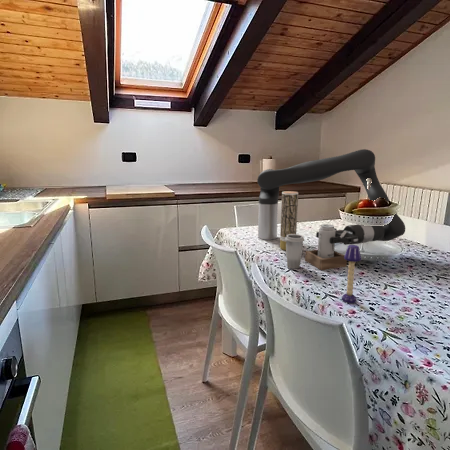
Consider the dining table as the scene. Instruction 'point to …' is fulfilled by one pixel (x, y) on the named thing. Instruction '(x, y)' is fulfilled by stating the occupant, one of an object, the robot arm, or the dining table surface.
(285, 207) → the bark patterned cylinder
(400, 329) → the dining table surface
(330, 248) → the energy drink can
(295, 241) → the cup
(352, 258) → the toy lamp
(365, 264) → the dining table surface
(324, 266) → the wooden tray
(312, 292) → the dining table surface
